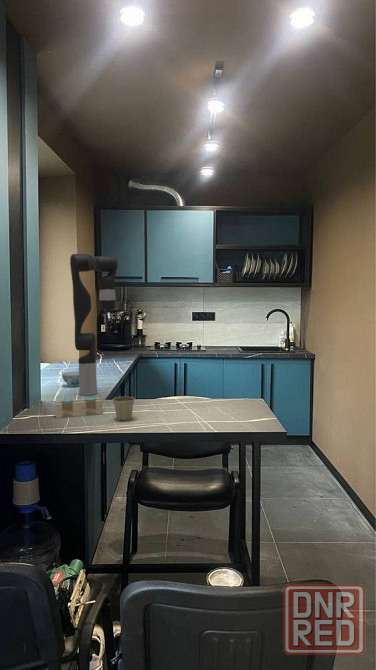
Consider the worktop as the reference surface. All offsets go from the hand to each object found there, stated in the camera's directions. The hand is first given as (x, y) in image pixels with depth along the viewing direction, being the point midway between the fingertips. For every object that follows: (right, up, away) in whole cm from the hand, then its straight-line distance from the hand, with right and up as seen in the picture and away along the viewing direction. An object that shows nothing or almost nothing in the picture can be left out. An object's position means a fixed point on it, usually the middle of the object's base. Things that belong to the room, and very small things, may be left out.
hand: (108, 336), depth 213 cm
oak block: (-11, -35, -12) cm, 39 cm away
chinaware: (-30, -30, +57) cm, 71 cm away
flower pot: (+10, -36, -22) cm, 43 cm away
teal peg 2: (-6, -35, -10) cm, 37 cm away
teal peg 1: (-16, -35, -13) cm, 41 cm away
